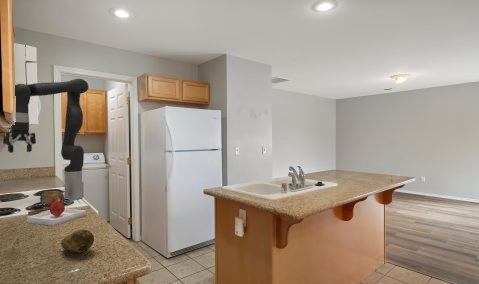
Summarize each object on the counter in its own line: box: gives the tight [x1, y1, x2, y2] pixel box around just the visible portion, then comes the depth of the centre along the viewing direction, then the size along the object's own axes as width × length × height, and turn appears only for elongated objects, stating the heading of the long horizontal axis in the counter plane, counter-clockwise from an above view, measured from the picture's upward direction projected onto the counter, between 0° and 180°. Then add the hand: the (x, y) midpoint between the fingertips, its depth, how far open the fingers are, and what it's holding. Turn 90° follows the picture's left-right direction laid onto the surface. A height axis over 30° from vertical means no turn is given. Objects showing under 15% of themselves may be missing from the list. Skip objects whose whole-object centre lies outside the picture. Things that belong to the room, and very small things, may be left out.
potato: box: [60, 229, 95, 254], centre depth 85 cm, size 8×13×8 cm, turn 39°
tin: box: [39, 190, 65, 205], centre depth 146 cm, size 15×3×8 cm, turn 73°
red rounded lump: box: [49, 200, 66, 217], centre depth 122 cm, size 6×6×8 cm
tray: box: [26, 208, 87, 227], centre depth 121 cm, size 16×16×2 cm
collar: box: [27, 206, 50, 216], centre depth 132 cm, size 11×11×2 cm
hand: (20, 152), depth 140 cm, fingers open, 8 cm apart
